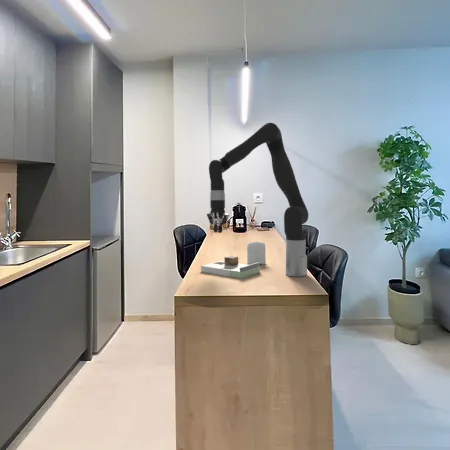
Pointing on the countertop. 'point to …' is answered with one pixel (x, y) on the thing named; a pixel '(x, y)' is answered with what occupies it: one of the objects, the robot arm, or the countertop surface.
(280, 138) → the robot arm
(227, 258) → the walnut block
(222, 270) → the box
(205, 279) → the countertop surface
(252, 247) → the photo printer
